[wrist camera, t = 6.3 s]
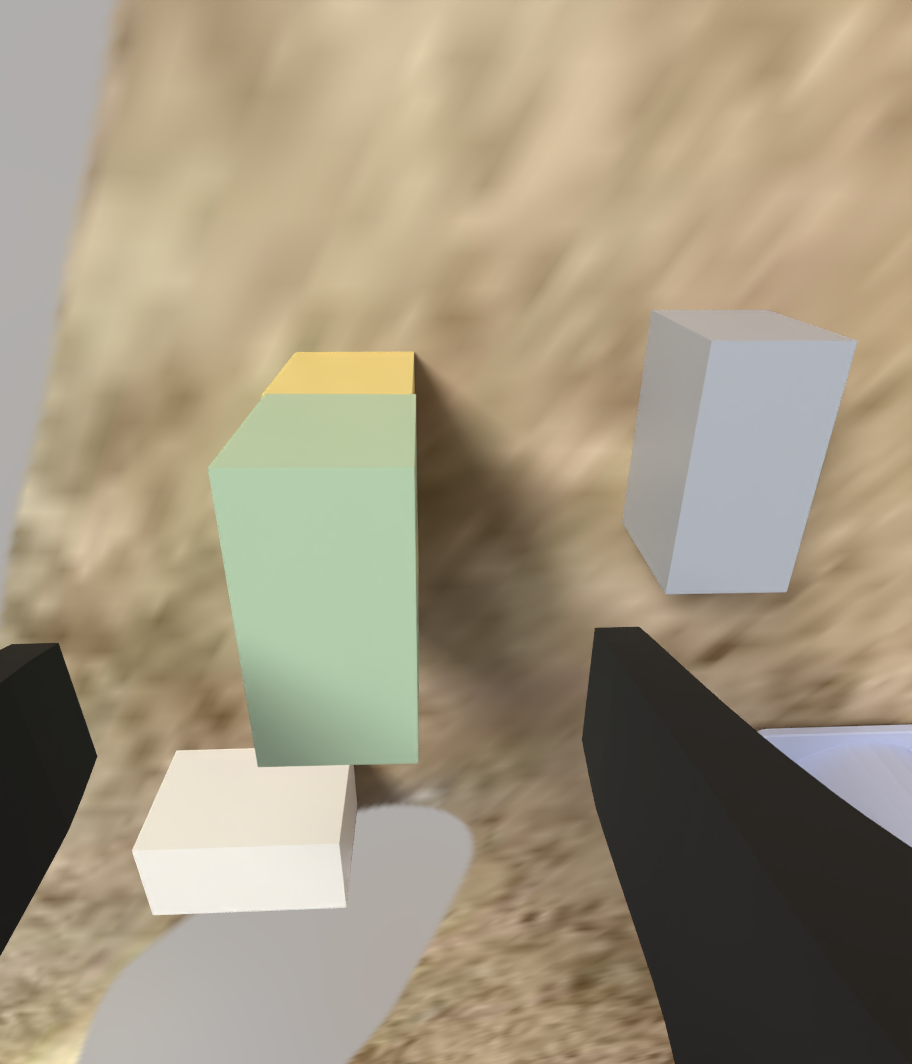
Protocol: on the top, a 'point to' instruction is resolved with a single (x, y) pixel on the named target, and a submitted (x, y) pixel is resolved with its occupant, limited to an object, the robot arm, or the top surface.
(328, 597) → the green brick
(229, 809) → the cream brick
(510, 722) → the top surface
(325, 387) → the mustard brick
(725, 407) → the grey brick
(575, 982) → the top surface
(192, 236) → the top surface
